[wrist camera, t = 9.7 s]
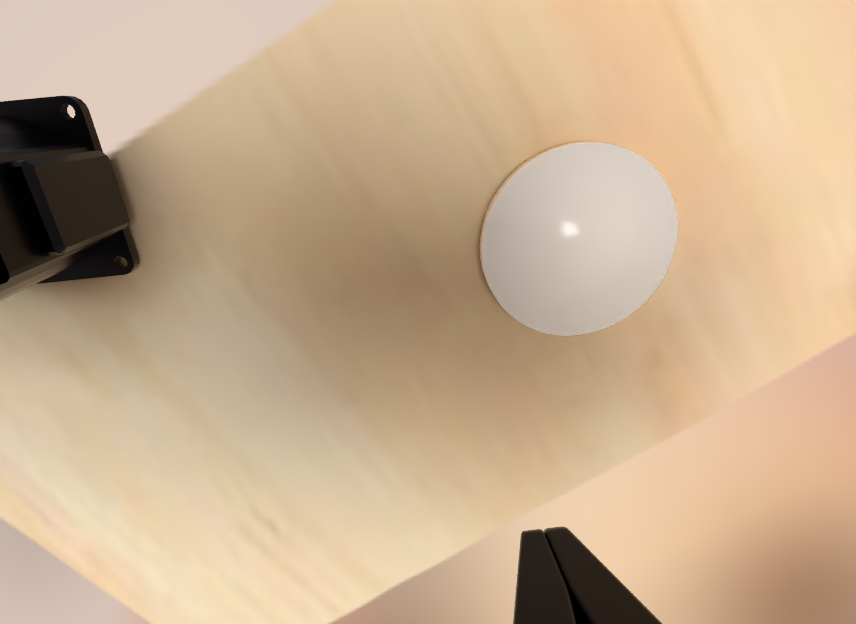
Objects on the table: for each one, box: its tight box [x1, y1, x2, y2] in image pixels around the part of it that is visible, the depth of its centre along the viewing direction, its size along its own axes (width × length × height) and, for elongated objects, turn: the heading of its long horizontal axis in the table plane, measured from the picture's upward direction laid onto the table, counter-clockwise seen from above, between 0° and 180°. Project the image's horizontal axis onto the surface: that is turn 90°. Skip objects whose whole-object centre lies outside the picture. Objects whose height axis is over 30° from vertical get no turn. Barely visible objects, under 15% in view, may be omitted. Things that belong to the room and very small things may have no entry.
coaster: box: [480, 141, 678, 336], centre depth 20 cm, size 8×8×1 cm
